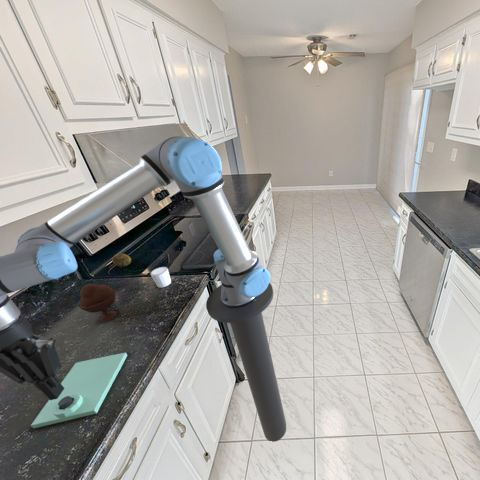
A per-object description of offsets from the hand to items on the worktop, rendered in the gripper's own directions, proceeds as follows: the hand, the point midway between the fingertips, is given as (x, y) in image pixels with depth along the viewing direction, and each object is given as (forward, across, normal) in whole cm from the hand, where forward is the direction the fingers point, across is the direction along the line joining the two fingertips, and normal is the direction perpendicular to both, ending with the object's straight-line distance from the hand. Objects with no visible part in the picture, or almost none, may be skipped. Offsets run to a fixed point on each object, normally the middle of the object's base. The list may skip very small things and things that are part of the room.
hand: (57, 394), depth 63 cm
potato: (+7, -19, +78) cm, 81 cm away
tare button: (+4, 0, 0) cm, 4 cm away
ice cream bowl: (+7, -8, +37) cm, 39 cm away
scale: (+7, 0, +6) cm, 9 cm away
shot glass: (+7, +7, +54) cm, 55 cm away
